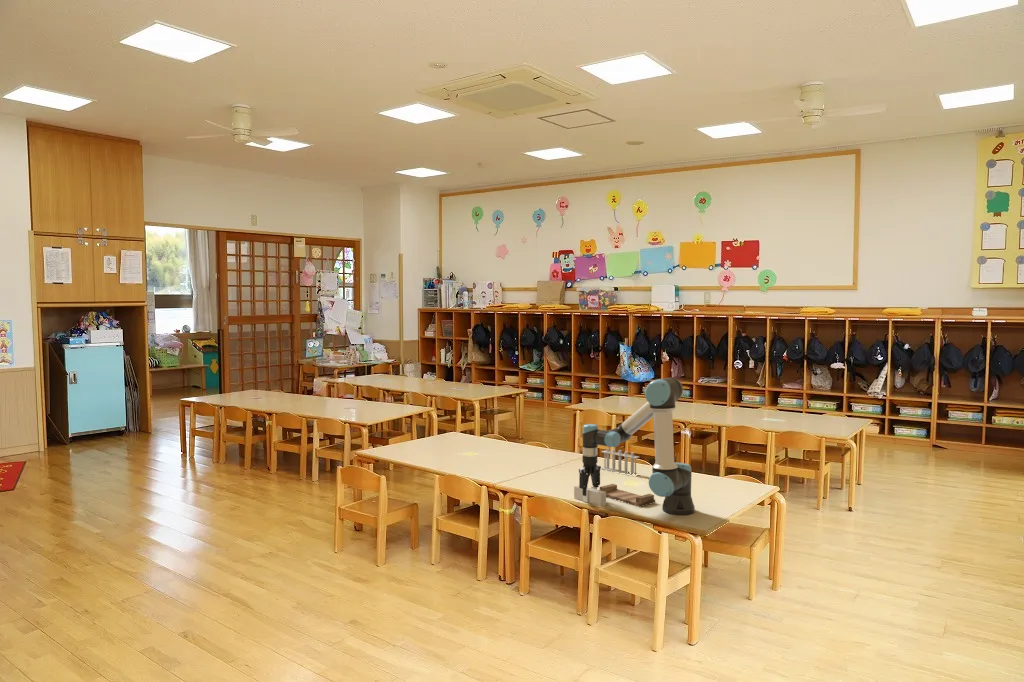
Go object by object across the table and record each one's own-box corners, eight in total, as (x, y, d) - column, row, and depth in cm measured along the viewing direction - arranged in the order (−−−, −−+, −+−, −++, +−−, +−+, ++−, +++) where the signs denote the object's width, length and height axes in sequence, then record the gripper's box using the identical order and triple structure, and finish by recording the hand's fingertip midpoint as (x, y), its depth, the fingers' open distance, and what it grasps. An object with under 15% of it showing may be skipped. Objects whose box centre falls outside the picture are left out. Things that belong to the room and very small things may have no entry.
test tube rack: (639, 475, 410) (639, 452, 409) (635, 476, 407) (635, 454, 406) (605, 468, 428) (605, 446, 427) (600, 469, 425) (600, 447, 424)
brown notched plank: (655, 502, 354) (655, 494, 354) (639, 506, 347) (639, 498, 347) (614, 490, 376) (614, 483, 376) (598, 494, 369) (598, 487, 369)
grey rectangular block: (606, 504, 351) (606, 491, 351) (600, 506, 349) (600, 493, 348) (579, 497, 365) (579, 484, 364) (574, 498, 362) (574, 486, 362)
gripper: (597, 451, 364) (597, 496, 365) (571, 456, 353) (571, 502, 354) (607, 454, 358) (607, 499, 360) (582, 458, 347) (582, 505, 348)
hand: (589, 500), depth 357 cm, fingers open, 5 cm apart
